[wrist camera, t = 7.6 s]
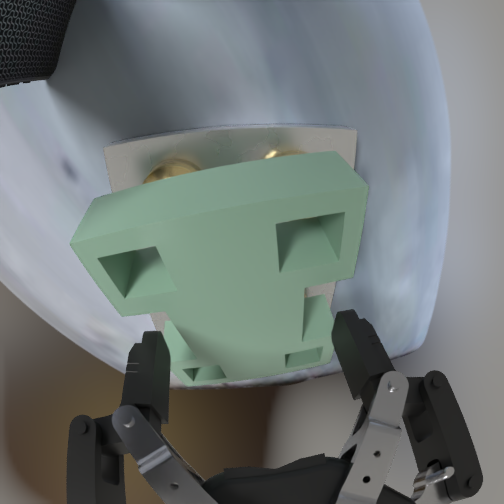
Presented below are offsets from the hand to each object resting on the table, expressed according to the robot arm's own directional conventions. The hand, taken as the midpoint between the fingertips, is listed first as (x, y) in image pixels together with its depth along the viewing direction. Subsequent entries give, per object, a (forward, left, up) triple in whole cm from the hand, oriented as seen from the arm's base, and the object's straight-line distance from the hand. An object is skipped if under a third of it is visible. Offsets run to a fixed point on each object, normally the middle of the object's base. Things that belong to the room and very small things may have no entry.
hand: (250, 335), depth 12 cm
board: (0, 0, -4) cm, 4 cm away
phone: (-17, -10, -8) cm, 21 cm away
